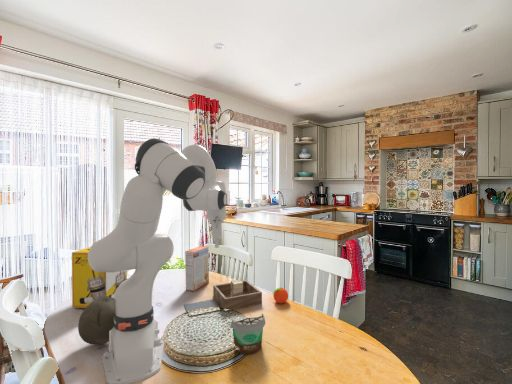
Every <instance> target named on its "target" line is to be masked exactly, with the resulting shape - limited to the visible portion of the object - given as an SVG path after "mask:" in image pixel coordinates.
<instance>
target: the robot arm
mask: <svg viewBox="0 0 512 384" xmlns="http://www.w3.org/2000/svg"><path fill="white" fill-rule="evenodd" d="M134 170H135V173H136V174H137V175H135V176H133V177H132V178H131V179H130V180H129V181H128V182H127V183H126V187H125V189H124V191H123V194H122V198H121V201H120V210H119V217H118V220H117V224H116V226H115V227H114V229H113V230H112V231H111V232H109V234H107V235H106V236H104V237H102V238H100V239H99V240H96V241H94V243H93V244H92V245H91V246H90V247H91V248H90V250H89V252H88V262H89V265H90V267H91V268H92V269H93V270H94V271H96V272H119V271H125V270H127V271H130V270H134V272H133V274H131V275H130V277H127V280H125V281H123V282H122V283H121V284H120V285H119V286H118V288H117V290H116V293H115V305H116V312H115V313H114V327H113V328H112V329H111V330H110V331H109V342H108V348H107V351H106V352H105V353H103V355H102V356H101V362H102V366H103V371H104V375H105V379H106V383H107V384H133V383H136V382H139V381H142V380H146V379H147V378H150V377H151V376H153V375H155V374H157V373H158V372H160V370H161V368H162V367H161V366H162V363H163V362H162V360H163V356H164V355H163V354H164V349H165V342H164V343H163V341H164V340H161V338H160V337H159V334H160V328H159V323H158V320H156V319H154V314H155V312H154V311H155V310H154V306H153V289H154V282H155V280H156V278H157V275H158V274H159V272H160V271H161V269H162V268H163V267H164V266H165V265H166V264H167V263H168V262H170V260H171V258H172V256H173V254H174V251H175V250H174V249H175V248H174V247H175V246H174V243H173V240H172V239H171V238H170V236H169V235H167V234H161V233H157V230H158V226H159V222H160V218H161V217H160V216H161V213H162V208H163V202H164V201H163V200H164V198H163V197H164V194H165V192H166V191H168V192H170V193H171V194H172V195H173V196H174V197H176V198H178V199H180V200H182V204H183V207H184V208H185V209H186V210H187V211H188V212H194V211H206V220H208V221H209V224H211V228H212V230H211V231H212V239H213V240H214V248H217V249H218V248H219V247H220V240H221V239H222V224H223V223H224V220H227V208H226V206H227V205H228V193H227V191H226V185H225V182H224V181H220V180H217V178H218V177H217V174H218V173H217V168H216V165H215V161H214V159H213V158H212V156H211V154H210V153H209V152H208V151H207V149H206V148H205V147H204V146H201V145H200V144H191V145H187V146H186V147H184V148H183V149H182V150H181V151H180V150H178V149H176V148H175V147H173V146H172V145H169V143H168V142H166V141H164V140H162V139H159V138H155V137H153V138H149V139H148V140H145V141H144V142H143V143H142V144H140V146H139V148H138V149H137V152H136V155H135V163H134Z"/></svg>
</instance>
